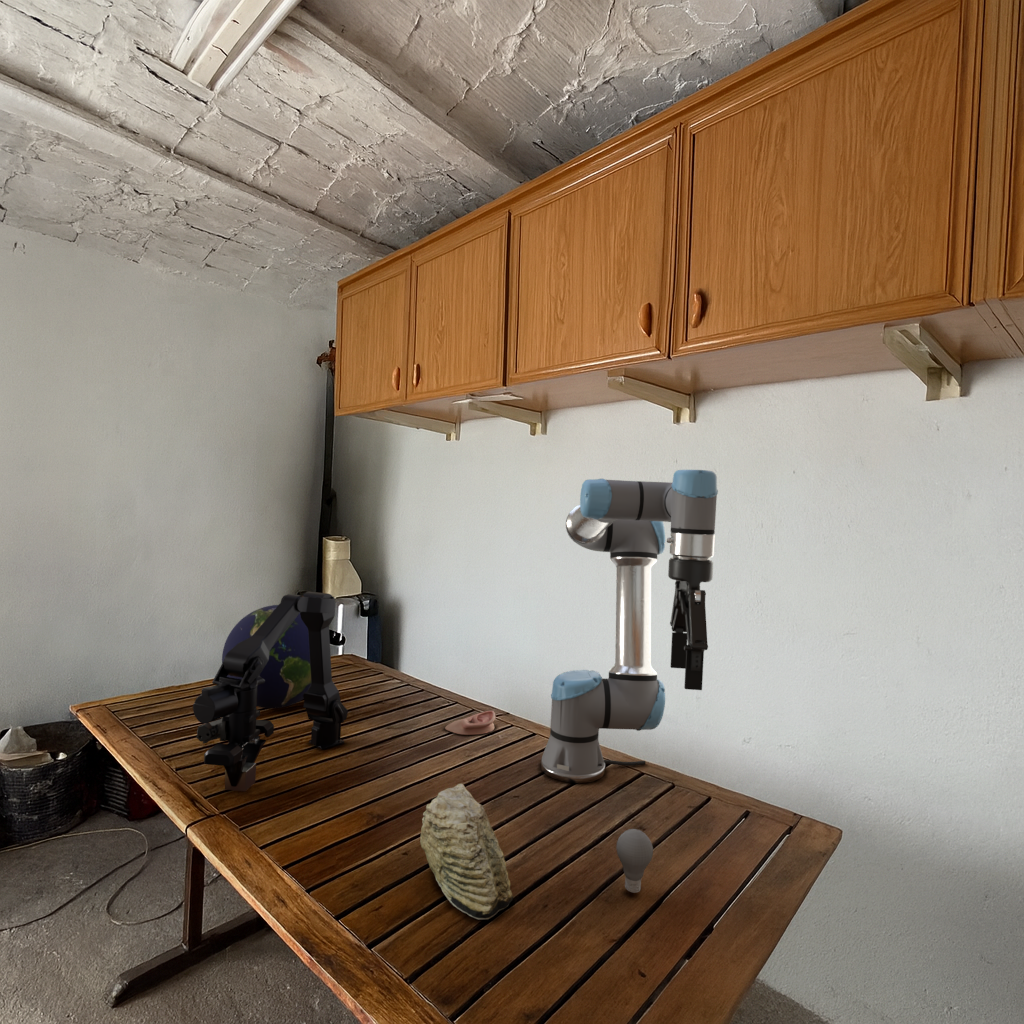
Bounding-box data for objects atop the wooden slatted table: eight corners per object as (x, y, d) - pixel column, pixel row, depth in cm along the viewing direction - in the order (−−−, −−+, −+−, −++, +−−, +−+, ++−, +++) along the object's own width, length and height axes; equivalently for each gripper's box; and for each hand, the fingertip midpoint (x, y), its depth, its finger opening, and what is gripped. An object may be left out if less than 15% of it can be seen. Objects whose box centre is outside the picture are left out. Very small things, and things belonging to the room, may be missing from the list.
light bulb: (610, 879, 108) (613, 822, 108) (644, 879, 109) (647, 822, 109) (619, 902, 102) (622, 840, 102) (655, 901, 103) (658, 840, 103)
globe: (289, 685, 209) (292, 594, 208) (348, 705, 191) (352, 606, 191) (199, 706, 185) (203, 604, 184) (258, 732, 167) (262, 619, 167)
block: (235, 780, 138) (235, 761, 137) (255, 782, 137) (256, 763, 137) (224, 789, 133) (225, 770, 133) (245, 791, 133) (246, 771, 133)
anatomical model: (442, 717, 173) (454, 704, 184) (441, 732, 173) (453, 718, 184) (489, 723, 170) (498, 710, 181) (488, 738, 170) (498, 723, 181)
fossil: (447, 853, 114) (450, 771, 114) (521, 902, 101) (525, 809, 101) (406, 873, 108) (410, 785, 107) (480, 928, 95) (484, 828, 94)
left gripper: (228, 692, 145) (226, 760, 145) (179, 721, 126) (177, 798, 127) (276, 696, 144) (273, 764, 144) (233, 725, 125) (230, 803, 126)
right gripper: (658, 551, 124) (653, 658, 124) (682, 563, 99) (676, 698, 100) (697, 553, 123) (692, 661, 124) (731, 565, 99) (725, 701, 99)
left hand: (239, 781), depth 135 cm, fingers closed on block, 4 cm apart
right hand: (685, 678), depth 112 cm, fingers open, 13 cm apart
